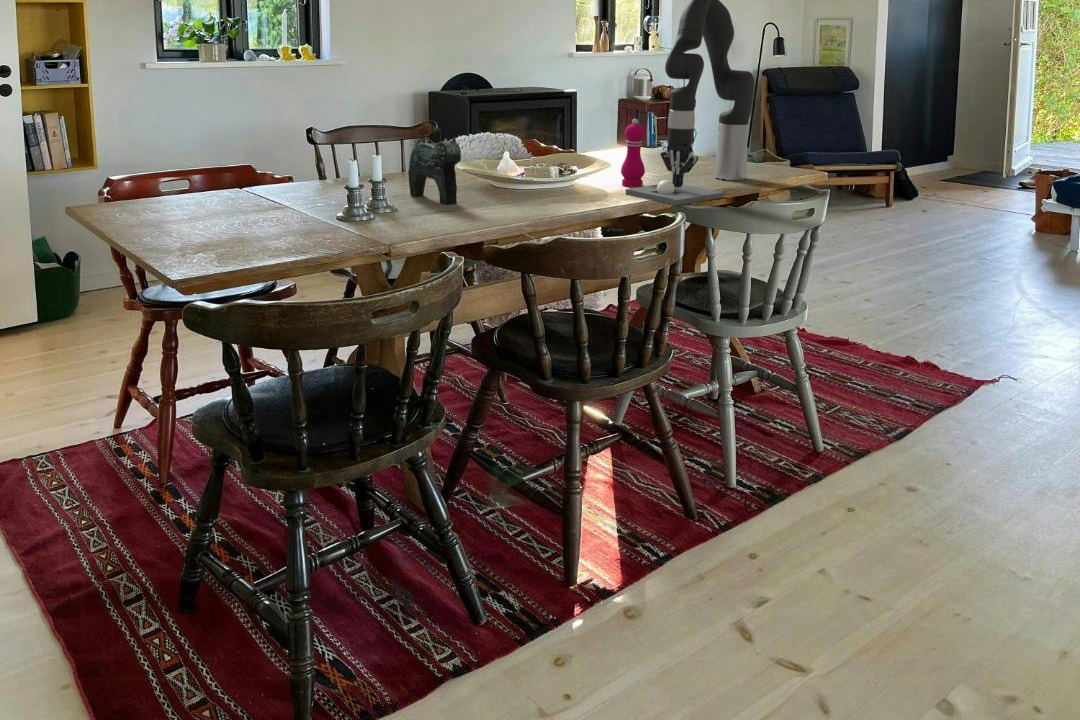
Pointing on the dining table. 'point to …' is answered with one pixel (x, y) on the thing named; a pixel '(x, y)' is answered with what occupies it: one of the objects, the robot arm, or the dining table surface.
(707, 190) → the plate
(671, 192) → the ball
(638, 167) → the pepper mill
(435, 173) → the ceramic cat
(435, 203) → the dining table surface
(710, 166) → the dining table surface
